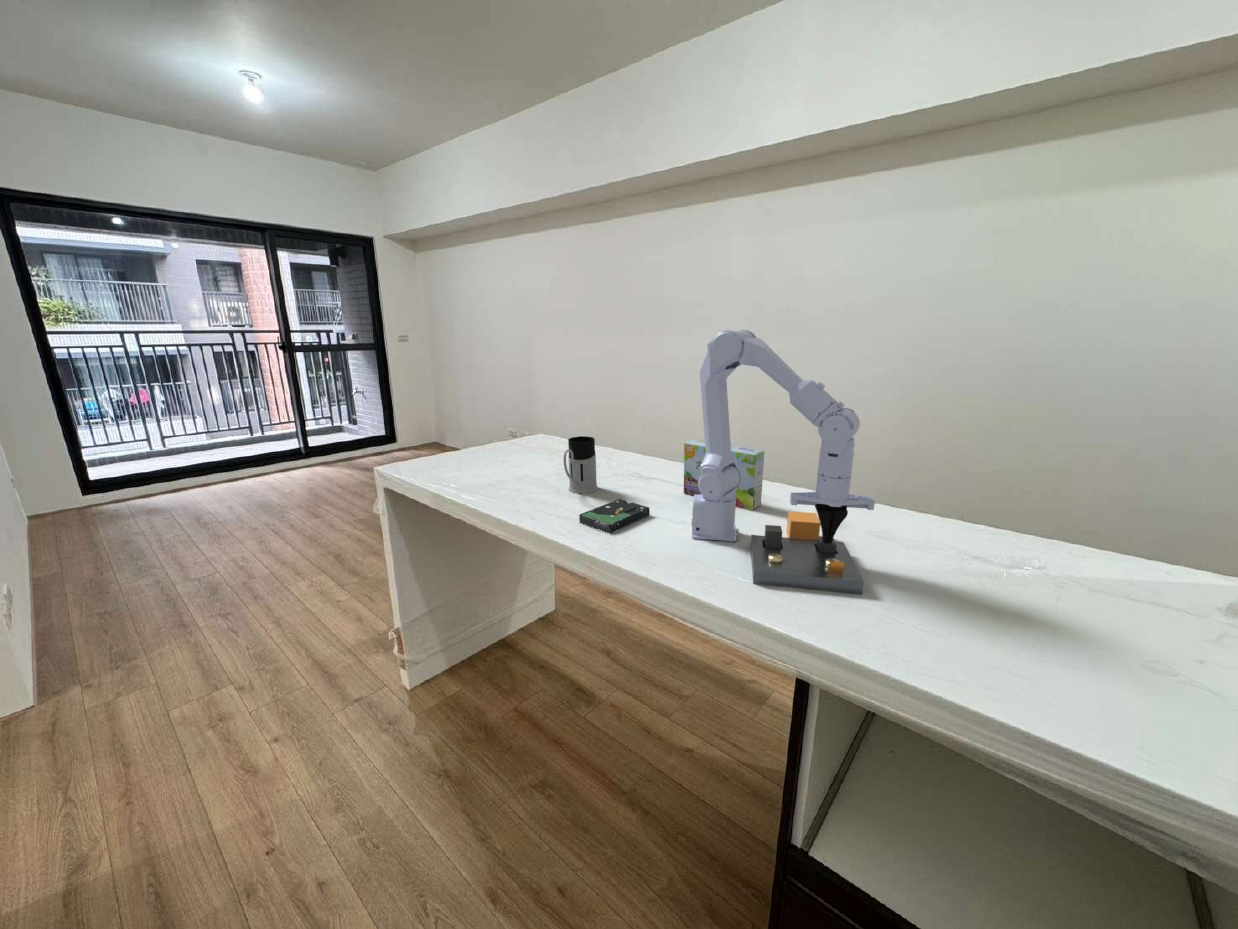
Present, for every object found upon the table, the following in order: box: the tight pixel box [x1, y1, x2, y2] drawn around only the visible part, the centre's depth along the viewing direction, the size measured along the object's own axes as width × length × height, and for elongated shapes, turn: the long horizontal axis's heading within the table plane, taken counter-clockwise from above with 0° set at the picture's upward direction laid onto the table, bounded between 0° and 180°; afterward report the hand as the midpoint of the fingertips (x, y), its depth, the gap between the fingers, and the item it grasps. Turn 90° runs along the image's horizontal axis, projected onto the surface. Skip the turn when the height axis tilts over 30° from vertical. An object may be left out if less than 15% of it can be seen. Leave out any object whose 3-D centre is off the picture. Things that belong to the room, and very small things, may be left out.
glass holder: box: [563, 435, 599, 495], centre depth 134 cm, size 9×14×15 cm, turn 156°
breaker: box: [764, 524, 783, 549], centre depth 94 cm, size 3×3×4 cm
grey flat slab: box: [750, 534, 865, 595], centre depth 90 cm, size 18×16×4 cm
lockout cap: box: [786, 510, 821, 540], centre depth 102 cm, size 6×6×5 cm
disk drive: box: [578, 498, 651, 534], centre depth 115 cm, size 10×3×15 cm
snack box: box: [683, 439, 765, 512], centre depth 126 cm, size 21×6×15 cm, turn 49°
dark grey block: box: [816, 536, 837, 554], centre depth 92 cm, size 3×3×4 cm
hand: (826, 541), depth 92 cm, fingers closed, pressing on dark grey block
